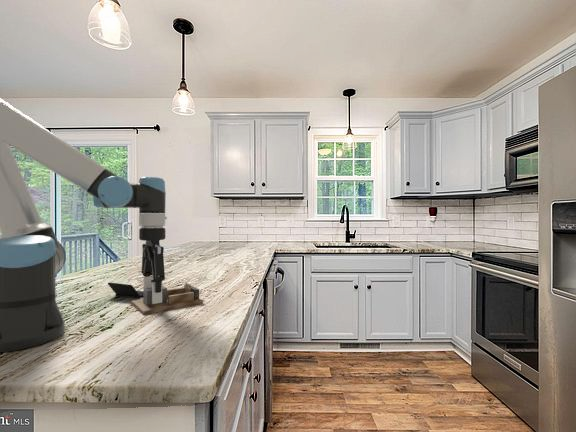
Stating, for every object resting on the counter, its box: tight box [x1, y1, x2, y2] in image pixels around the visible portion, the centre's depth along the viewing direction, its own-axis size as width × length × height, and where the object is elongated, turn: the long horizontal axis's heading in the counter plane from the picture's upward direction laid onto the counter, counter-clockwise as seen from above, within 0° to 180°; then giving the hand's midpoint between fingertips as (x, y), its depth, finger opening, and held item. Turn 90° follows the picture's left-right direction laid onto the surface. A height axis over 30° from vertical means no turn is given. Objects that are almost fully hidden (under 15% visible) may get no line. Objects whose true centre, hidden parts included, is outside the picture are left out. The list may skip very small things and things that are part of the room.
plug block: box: [142, 285, 168, 306], centre depth 98 cm, size 6×4×4 cm, turn 129°
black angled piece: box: [107, 282, 143, 300], centre depth 110 cm, size 12×7×10 cm
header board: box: [131, 282, 204, 316], centre depth 101 cm, size 18×14×5 cm
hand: (152, 299), depth 98 cm, fingers open, 9 cm apart
